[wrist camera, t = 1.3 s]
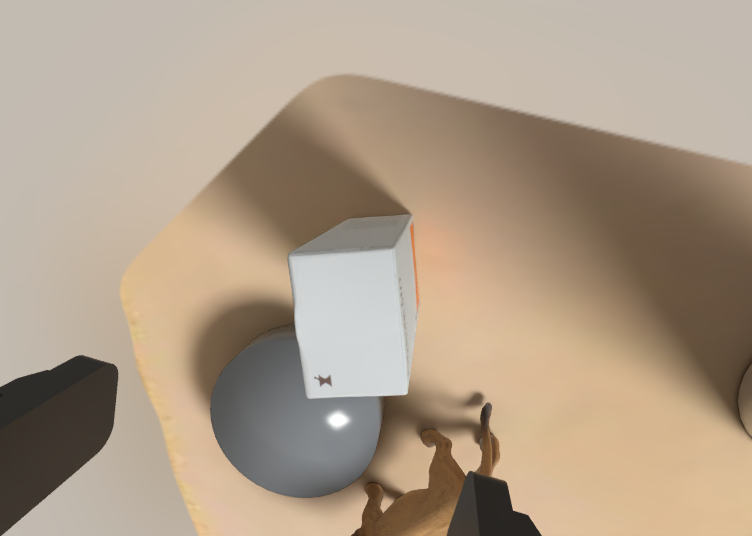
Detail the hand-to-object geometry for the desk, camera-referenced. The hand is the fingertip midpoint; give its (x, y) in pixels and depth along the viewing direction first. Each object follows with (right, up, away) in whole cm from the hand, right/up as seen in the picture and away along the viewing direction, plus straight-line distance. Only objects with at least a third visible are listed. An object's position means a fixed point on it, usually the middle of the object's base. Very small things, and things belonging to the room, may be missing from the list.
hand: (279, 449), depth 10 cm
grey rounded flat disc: (-3, -5, +22) cm, 22 cm away
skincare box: (+3, +4, +19) cm, 20 cm away
